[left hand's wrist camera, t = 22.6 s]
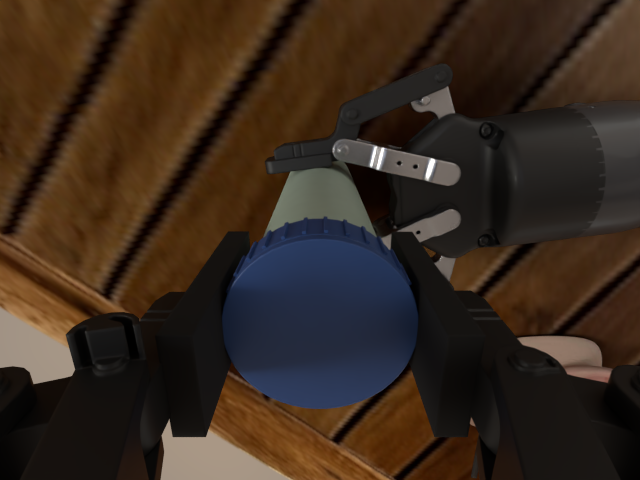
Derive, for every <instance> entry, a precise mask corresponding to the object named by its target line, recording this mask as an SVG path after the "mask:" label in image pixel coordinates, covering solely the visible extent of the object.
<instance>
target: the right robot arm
mask: <svg viewBox="0 0 640 480" xmlns="http://www.w3.org/2000/svg"><path fill="white" fill-rule="evenodd" d="M452 78H453V73H452V70H451V68H450V67H449V66H448V65H446V64H438V65H435V66H431V67H428V68H425V69H423V70H420V71H418V72H416V73H413V74H411V75H409V76H406V77H404V78H402V79H399V80H397V81H395V82H392V83H390V84H387V85H385V86H383V87H380V88H378V89H376V90H373V91H371V92H369V93H366V94H364V95H362V96H359V97H357V98H355V99H352V100H350V101H348V102H345V103H344V104H342V105H341V107H340V109H339V115H338V119H337V123H336V128H335V130H334V132H333V133H332V134H331V135H330V136H329V137H326V138H321V139H313V140H306V141H298V142H291V143H284V144H282V145H281V146H279V147H277V148H276V149H275V150H274V155H275V156H273V157H269V158H267V159H266V161H265V165H266V171H267V174H276V173H284V172H292V171H299V170H307V169H313V168H322V167H330V166H332V162H334V161H342V162H347V163H351V164H356V165H361V166H365V167H370V168H373V169H375V170H379V171H383V172H387V181H388V184H389V187H390V189H391V196H390V201H389V214H387V215H385V216H383V217H381V218H379V219H377V220H375V221H374V222H373V223H372V227H373V229H374V231H375V234H376V236H377V237H378V236H379V237H381V239H382V241H383V243H384V244H385V245H386V246H387V247H388V249H389V250H390V248H391V233H392V232H413V233H414V235H415V236H416V238H417V239H418V241H419V242H420V243H421V245H423V246H425V247H426V248H428V249H430V250H432V251H434V252H436V254H435V255H434V256H433V257H431V259H432V260H433V262H434V263H435V265H436V266H437V268H438V269H439V270H440V272H441V273H442V275H443V276H444V277H445V279H446V280H447V282H448V283H449V285H450V286H451V287H452V289H453V290H454V288H453V286H452V285H451V283H450V278H451V274H452V270H453V266H454V263H455V259H456V258H458V257H461V256H463V255H465V254H466V253H468V252H469V251H471V250H474V249H476V248H480V247H502V246H510V245H519V244H527V243H535V242H543V241H552V240H561V239H569V238H576V237H585V236H594V235H602V234H610V233H617V232H622V231H626V230H630V229H634V228H638V227H640V100H639V101H631V100H615V101H603V102H596V103H588V104H586V103H573V104H569V105H565V106H564V107H558V108H550V109H543V110H536V111H528V112H521V113H513V114H506V115H499V116H491V117H484V118H473V119H472V118H469V117H466V116H464V115H462V114H459V113H455V111H454V107H453V103H452V99H451V96H450V92H449V88H448V85H449V84H450V83H451V81H452ZM406 104H408V106H409V108H410V109H411V110H413V111H415V112H426V111H428V112H430V113H431V114H432V115H433V117H434V119H433V120H432V121H431V122H429V123H428V124H427V125H426V126H425V127H424V128H423V129H422V130H421V131H419V132H418V133H417V134H416V135H415V136H414V137H413V138H412V139H411V140H409V141H408V142H407V143H406V144H405V145H404V146H403V147H398V146H394V145H389V144H384V143H380V142H375V141H368V140H363V139H359V138H357V136H358V132H359V128H360V124H361V123H363V122H365V121H367V120H370V119H372V118H375V117H377V116H379V115H382V114H384V113H387V112H389V111H391V110H394V109H396V108H399V107H401V106H403V105H406Z"/></svg>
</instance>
